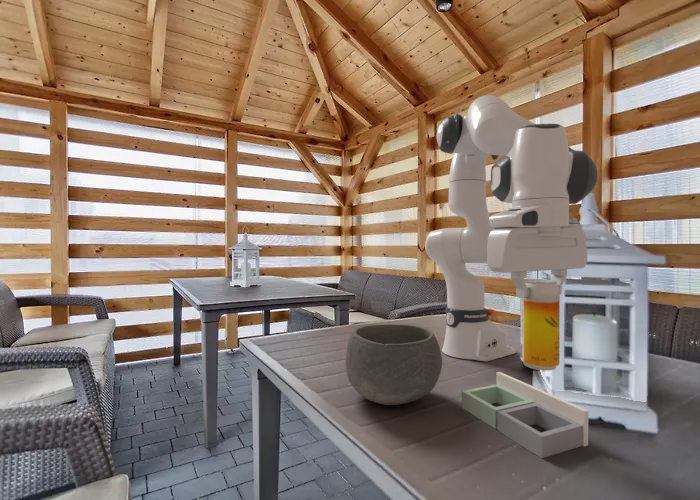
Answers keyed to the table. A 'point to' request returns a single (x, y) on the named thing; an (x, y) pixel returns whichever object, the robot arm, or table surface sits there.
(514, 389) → the holder board
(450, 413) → the table surface
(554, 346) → the beer can
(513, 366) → the table surface
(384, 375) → the bowl
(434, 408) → the table surface
